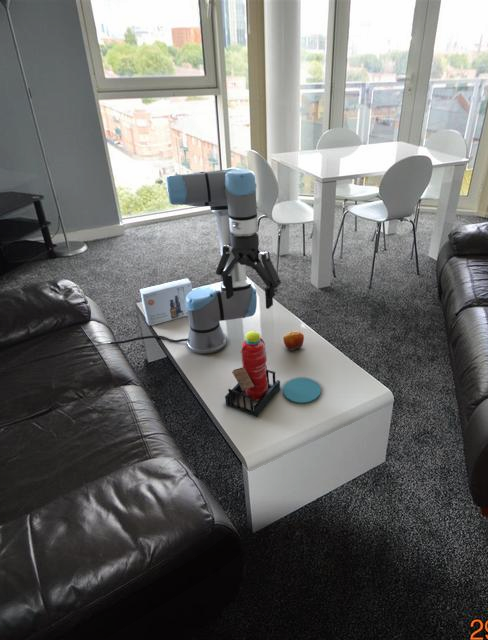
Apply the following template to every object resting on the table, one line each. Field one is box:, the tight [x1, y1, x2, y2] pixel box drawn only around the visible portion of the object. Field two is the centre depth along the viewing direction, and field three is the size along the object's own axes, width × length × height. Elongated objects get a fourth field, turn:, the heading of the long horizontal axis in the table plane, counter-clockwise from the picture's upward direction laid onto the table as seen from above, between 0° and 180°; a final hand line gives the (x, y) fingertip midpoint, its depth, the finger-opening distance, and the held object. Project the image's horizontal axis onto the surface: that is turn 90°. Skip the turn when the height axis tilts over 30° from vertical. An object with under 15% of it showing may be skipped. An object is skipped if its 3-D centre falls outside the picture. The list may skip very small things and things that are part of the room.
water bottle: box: [231, 330, 269, 401], centre depth 142 cm, size 12×8×25 cm, turn 128°
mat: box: [282, 377, 322, 405], centre depth 151 cm, size 13×13×1 cm
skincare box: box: [139, 277, 193, 327], centre depth 190 cm, size 21×6×16 cm, turn 120°
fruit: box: [283, 330, 305, 352], centre depth 172 cm, size 8×8×8 cm
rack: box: [224, 368, 281, 418], centre depth 147 cm, size 12×15×7 cm
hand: (249, 301), depth 129 cm, fingers open, 13 cm apart
